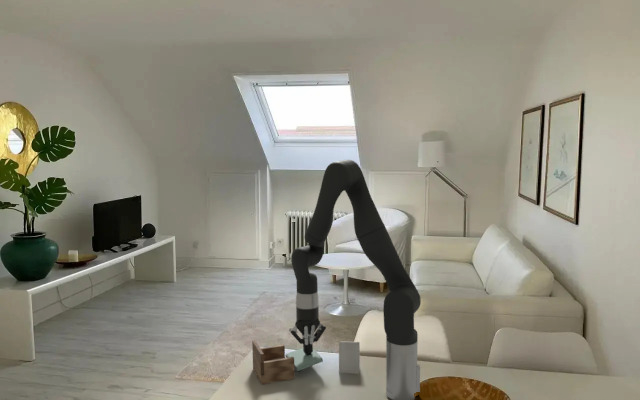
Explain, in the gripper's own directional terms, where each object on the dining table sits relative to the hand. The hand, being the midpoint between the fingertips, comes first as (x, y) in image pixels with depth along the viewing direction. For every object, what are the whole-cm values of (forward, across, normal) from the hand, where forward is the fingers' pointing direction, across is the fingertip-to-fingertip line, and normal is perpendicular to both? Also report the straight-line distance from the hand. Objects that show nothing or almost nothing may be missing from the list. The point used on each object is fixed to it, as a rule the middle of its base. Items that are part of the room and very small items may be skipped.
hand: (308, 353), depth 172 cm
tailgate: (+2, -6, 0) cm, 6 cm away
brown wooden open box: (+5, -12, 0) cm, 13 cm away
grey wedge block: (+5, +12, -7) cm, 15 cm away
